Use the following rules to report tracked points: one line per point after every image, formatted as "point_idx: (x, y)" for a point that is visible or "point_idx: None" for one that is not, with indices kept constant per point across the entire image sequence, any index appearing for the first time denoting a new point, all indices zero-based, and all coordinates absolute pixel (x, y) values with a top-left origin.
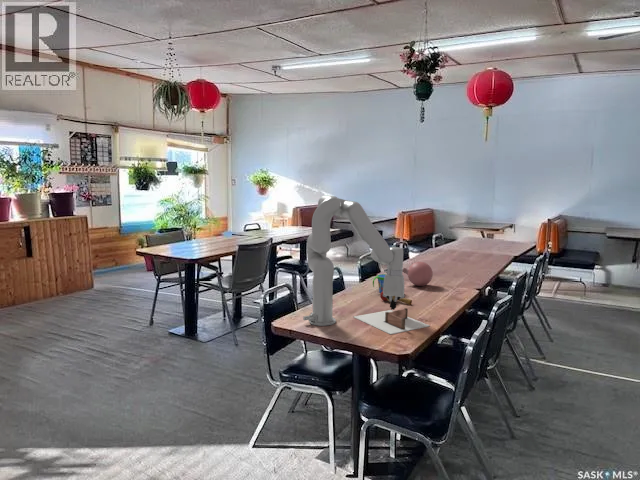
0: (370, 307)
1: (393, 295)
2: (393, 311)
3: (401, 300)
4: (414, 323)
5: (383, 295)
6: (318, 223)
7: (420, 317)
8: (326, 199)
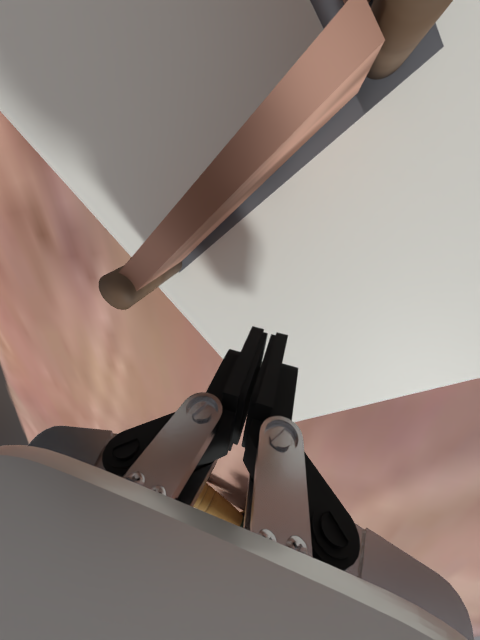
0: (408, 484)
1: (179, 527)
2: (263, 147)
3: (217, 501)
4: (63, 72)
5: (443, 606)
6: None
7: (94, 295)
8: None
